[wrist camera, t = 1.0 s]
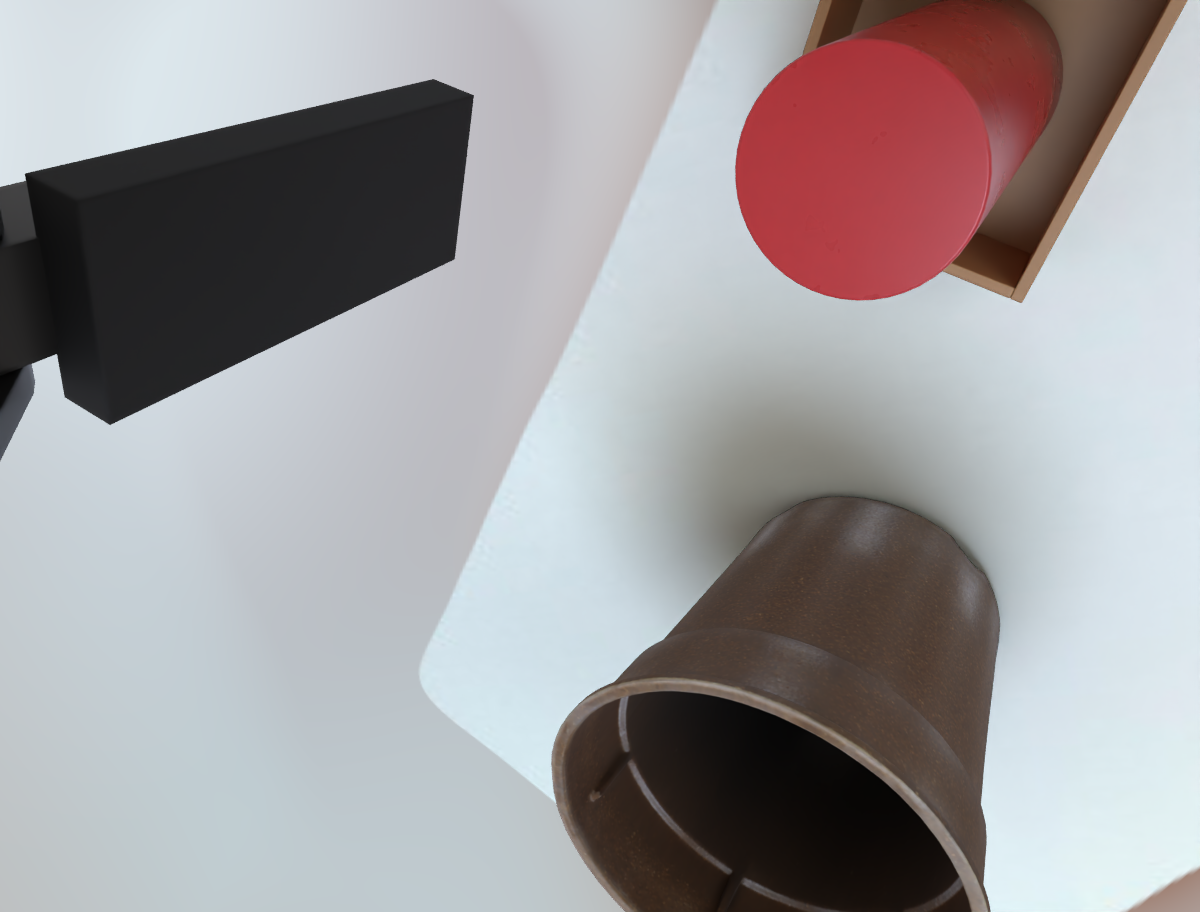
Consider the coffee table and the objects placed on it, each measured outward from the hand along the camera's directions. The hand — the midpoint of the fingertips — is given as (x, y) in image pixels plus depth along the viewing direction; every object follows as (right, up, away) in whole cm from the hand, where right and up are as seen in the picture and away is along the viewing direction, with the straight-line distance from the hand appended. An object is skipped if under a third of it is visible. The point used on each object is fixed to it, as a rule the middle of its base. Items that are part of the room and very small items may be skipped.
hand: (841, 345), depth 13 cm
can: (+9, +11, +19) cm, 24 cm away
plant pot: (+10, -9, +32) cm, 34 cm away
